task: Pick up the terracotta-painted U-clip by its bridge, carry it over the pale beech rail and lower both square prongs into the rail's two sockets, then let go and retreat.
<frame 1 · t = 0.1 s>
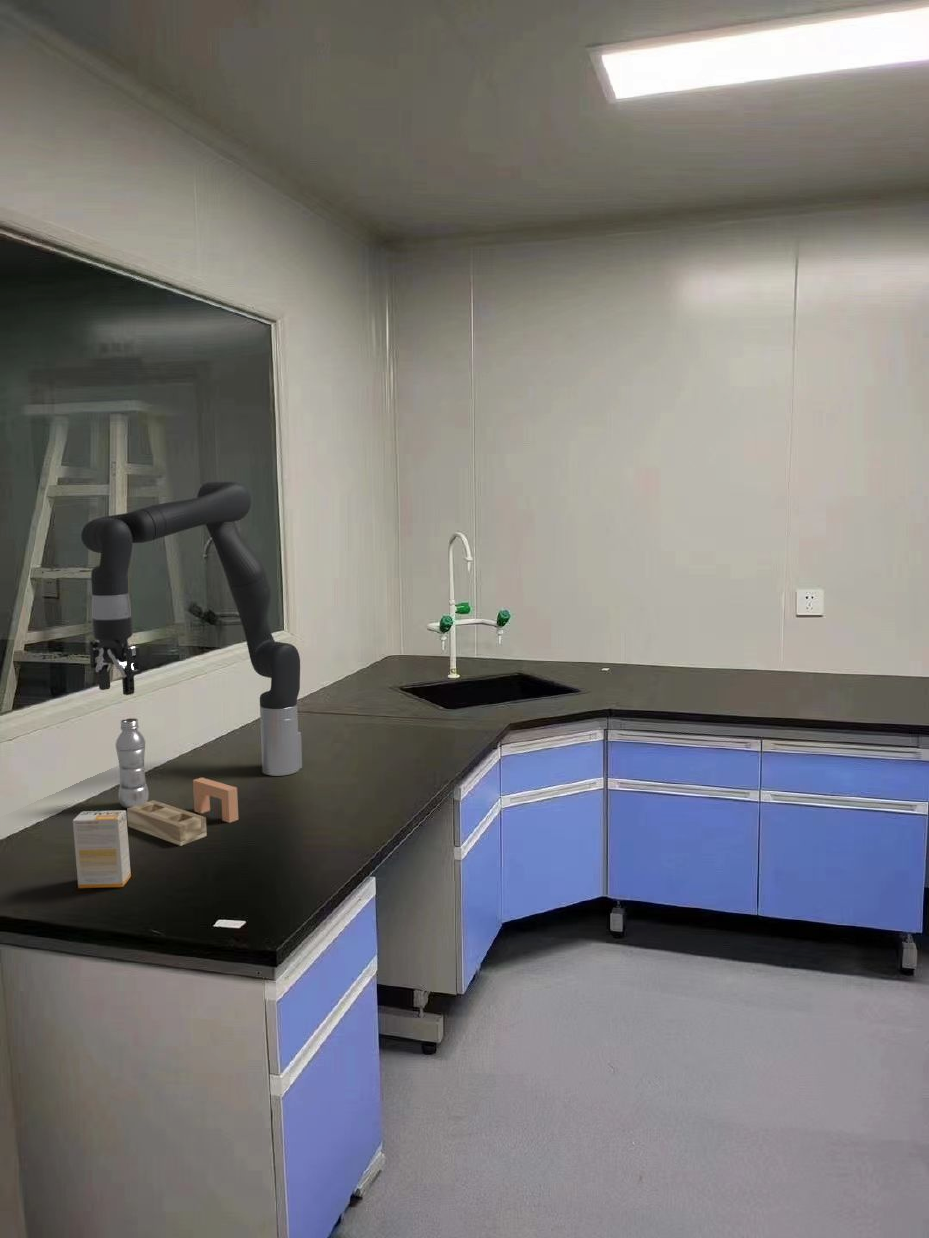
hand: (116, 691, 189), 29 cm above the worktop, fingers open, 8 cm apart
metal bottle: (134, 806, 204), on the worktop
clip: (216, 815, 198), on the worktop
supplement box: (104, 883, 164), on the worktop
rail: (166, 831, 189), on the worktop
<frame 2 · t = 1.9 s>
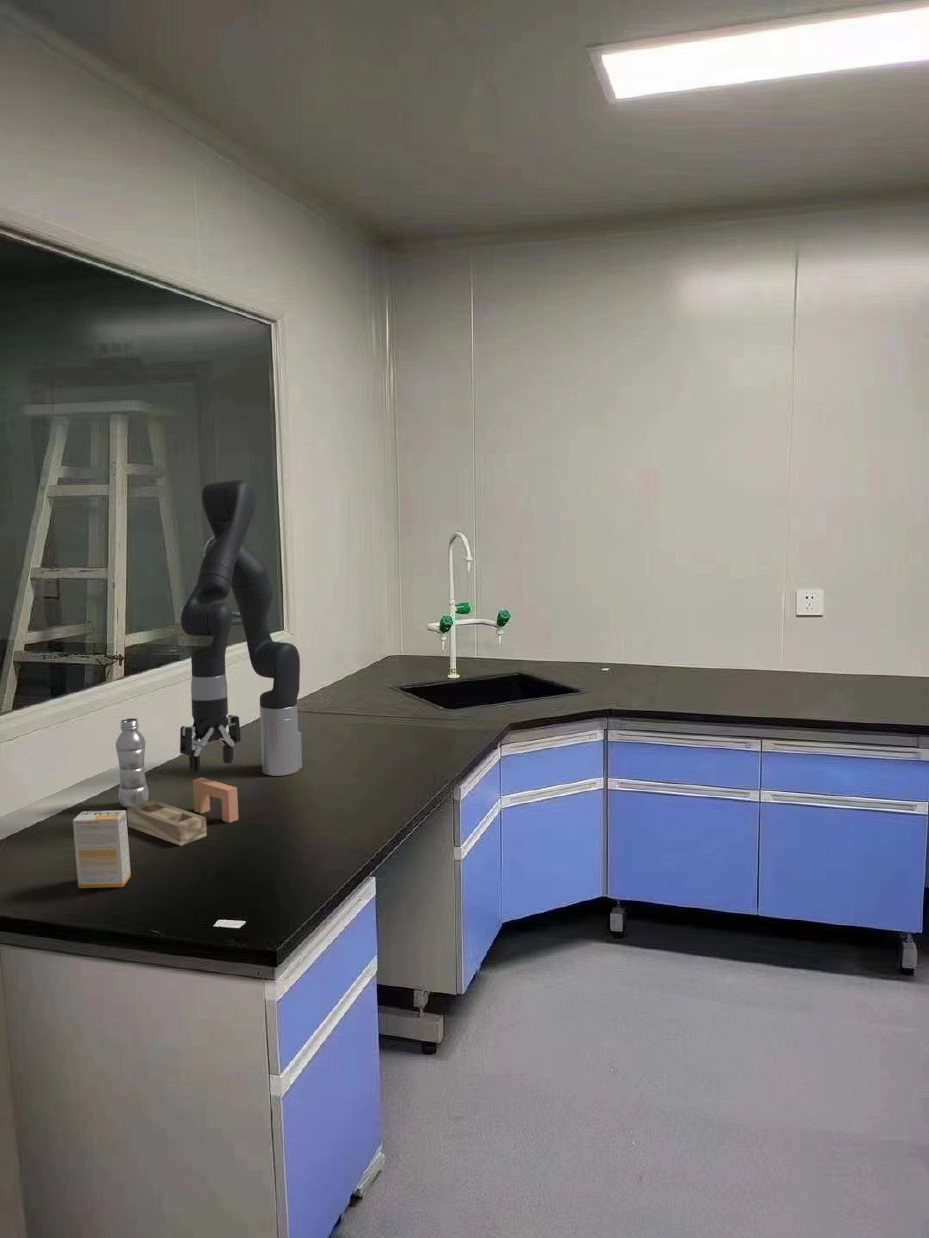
hand: (211, 767, 196), 11 cm above the worktop, fingers open, 8 cm apart
nothing on the worktop moved.
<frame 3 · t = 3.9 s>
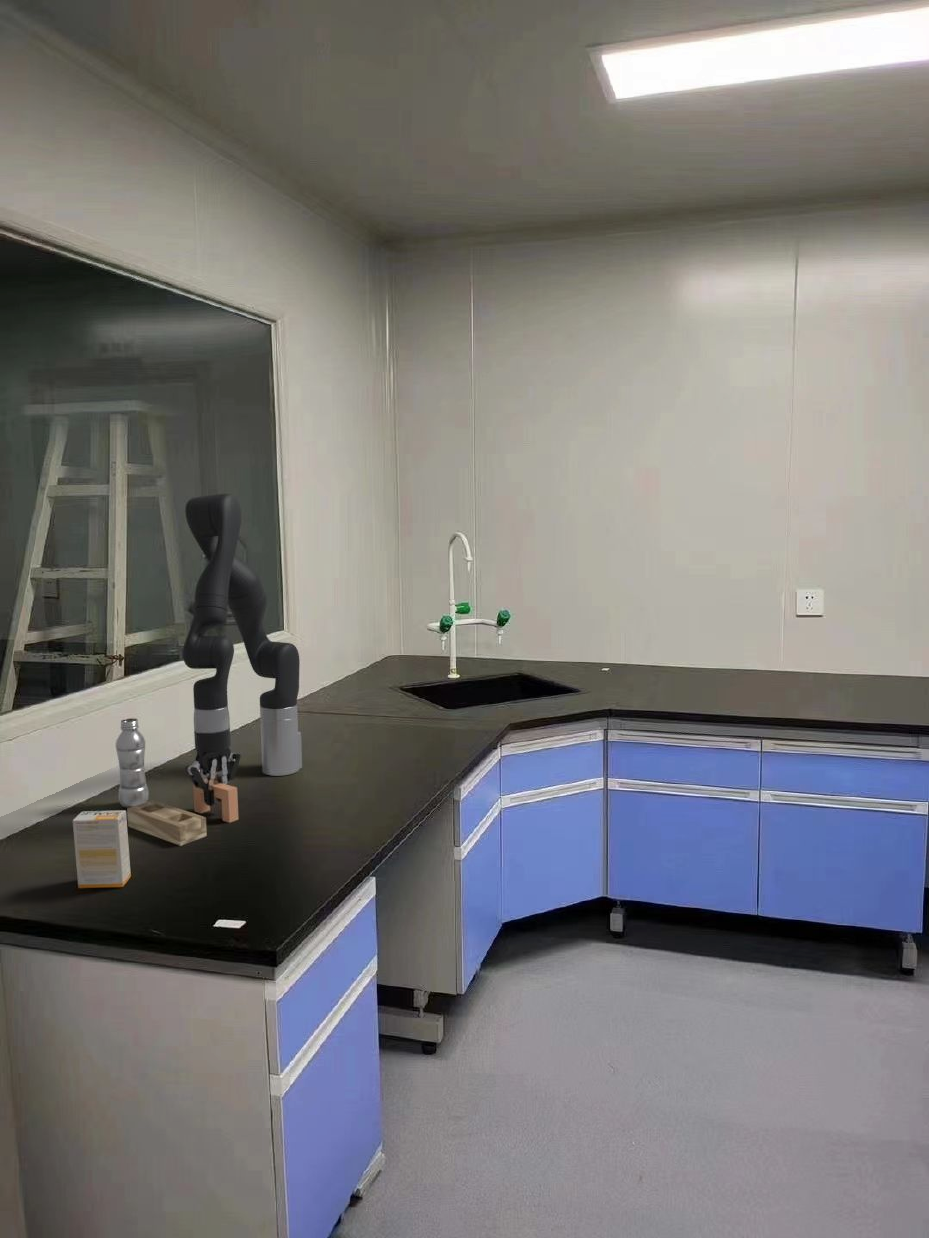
hand: (215, 802, 198), 3 cm above the worktop, fingers closed on clip, 2 cm apart
clip: (216, 815, 198), on the worktop, touching gripper
everything else where it was.
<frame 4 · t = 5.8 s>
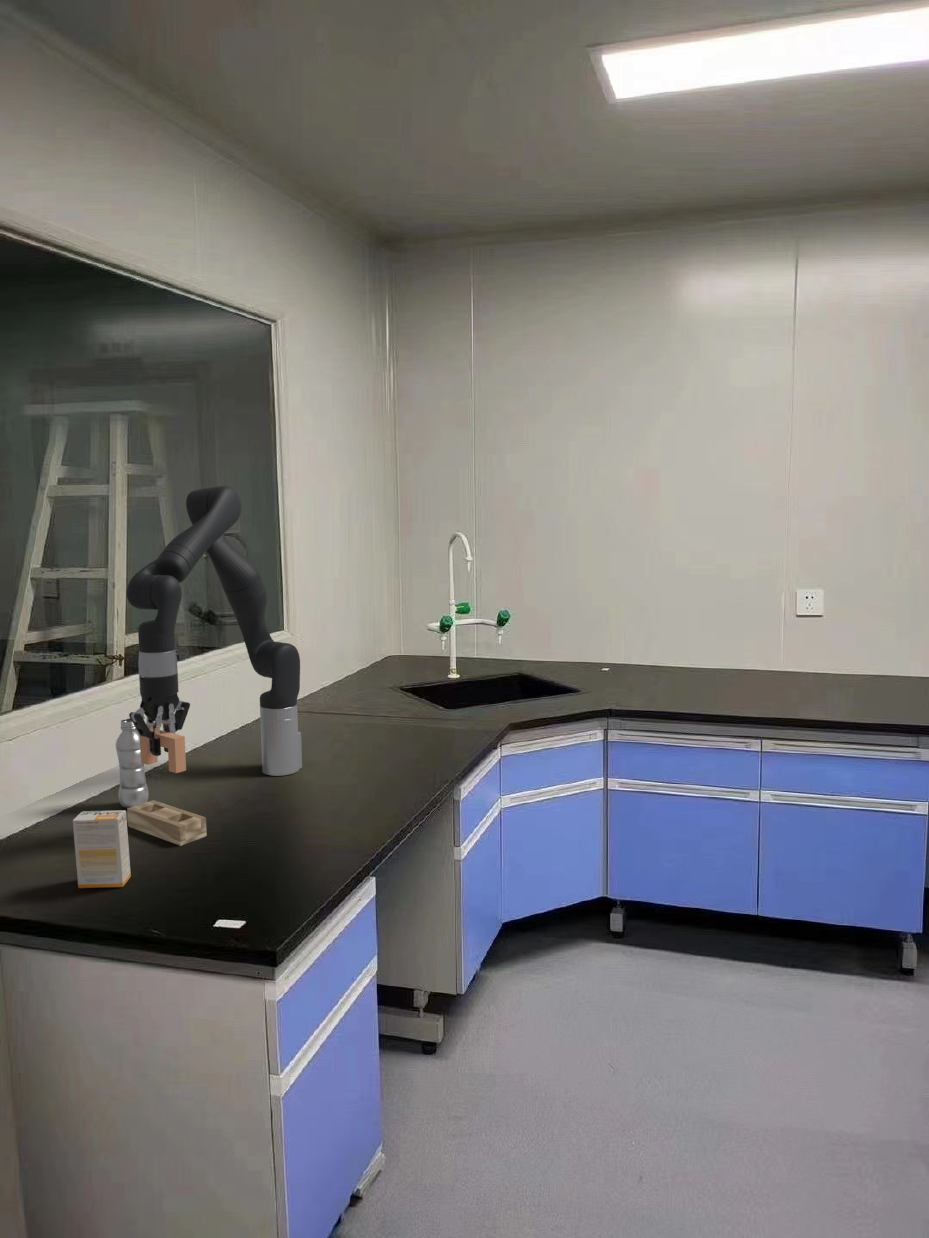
hand: (162, 753, 186), 17 cm above the worktop, fingers closed on clip, 2 cm apart
clip: (163, 766, 187), point 14 cm above the worktop, touching gripper
everything else where it was.
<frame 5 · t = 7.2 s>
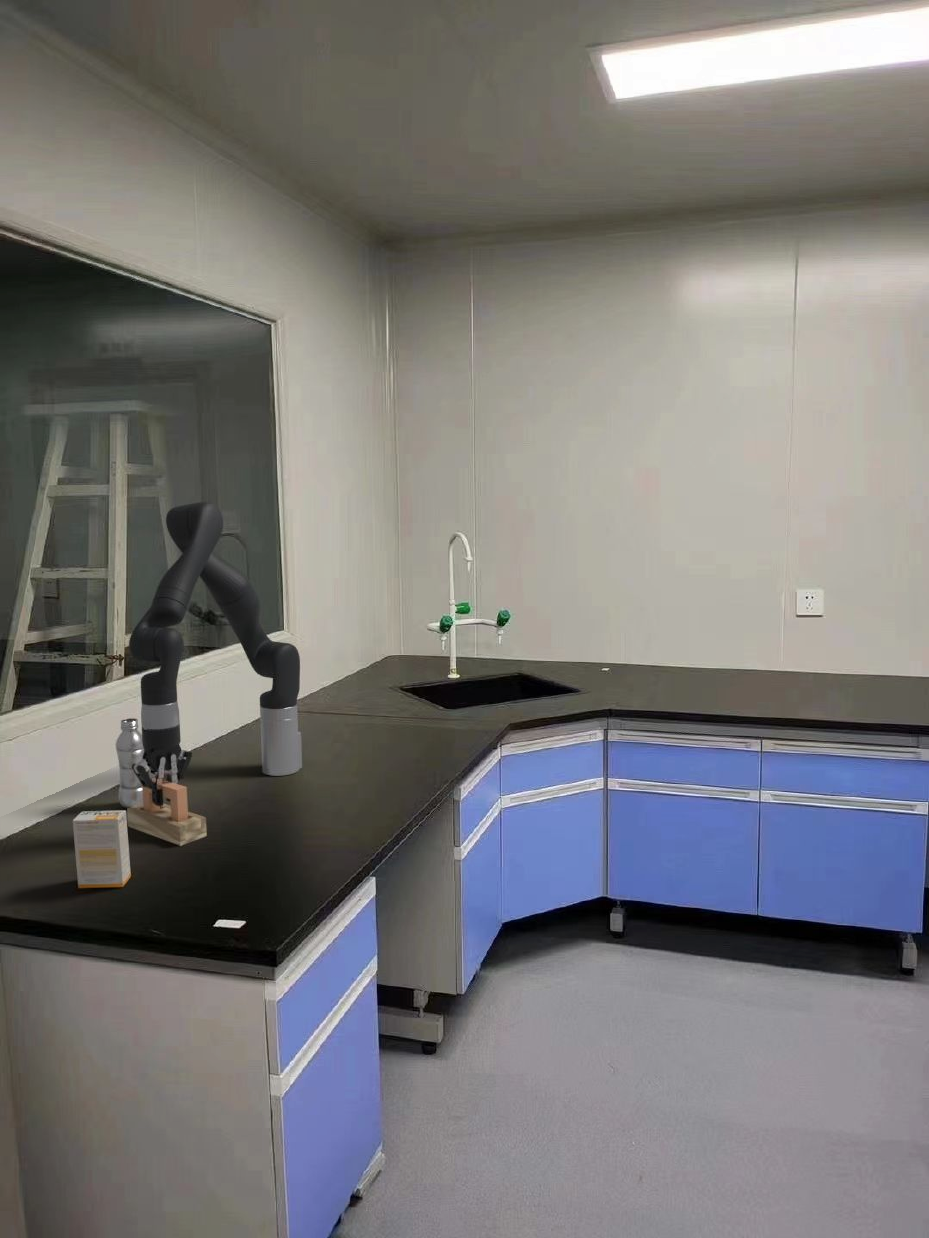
hand: (164, 802, 188), 6 cm above the worktop, fingers closed on clip, 2 cm apart
clip: (165, 815, 188), point 3 cm above the worktop, touching gripper
everything else where it was.
when the fingers open (5 cm above the worktop, at t = 8.1 s): clip drops 1 cm, resting on rail.
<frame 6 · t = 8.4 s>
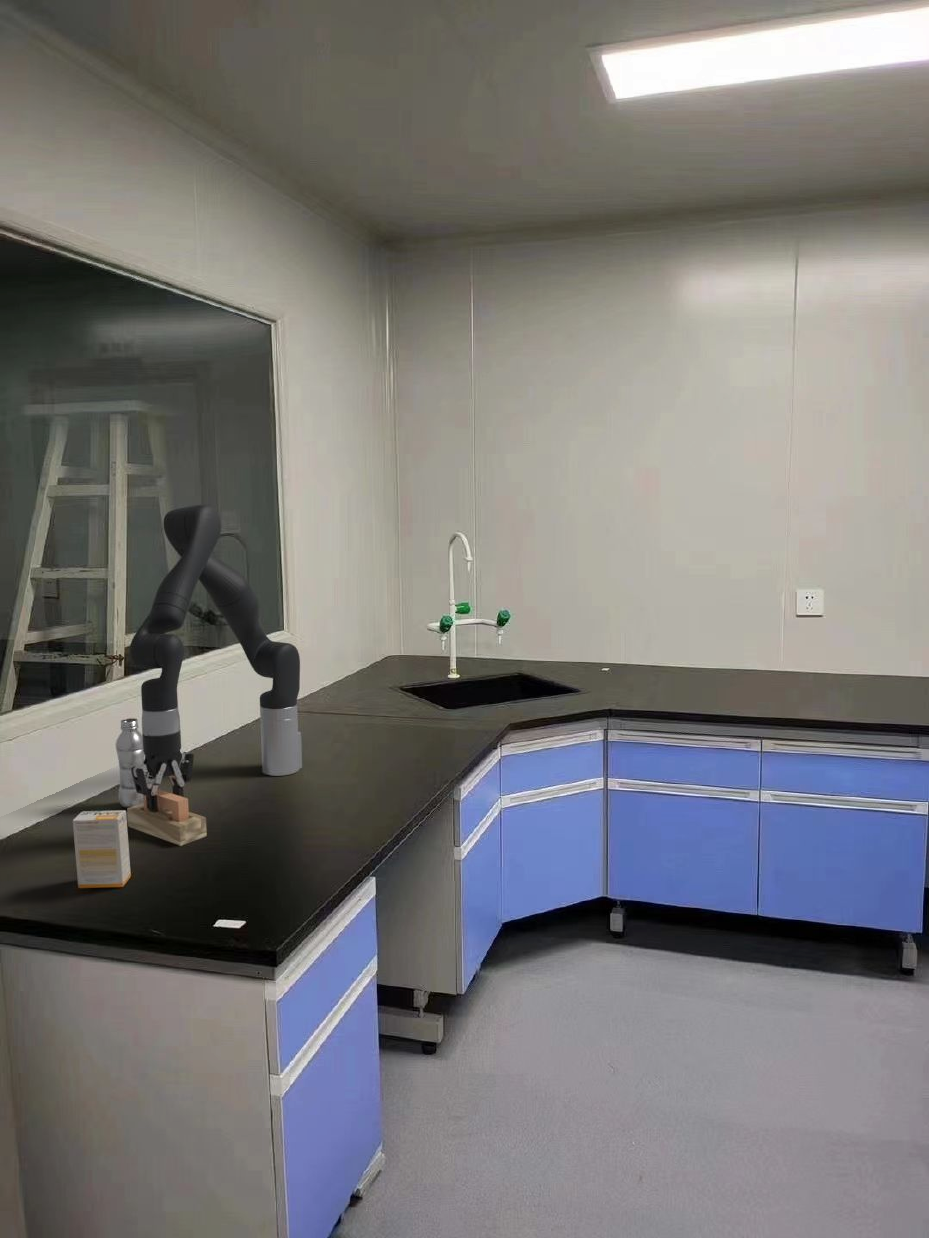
hand: (165, 807, 188), 5 cm above the worktop, fingers open, 5 cm apart
clip: (166, 827, 189), point 1 cm above the worktop, touching rail
everything else where it was.
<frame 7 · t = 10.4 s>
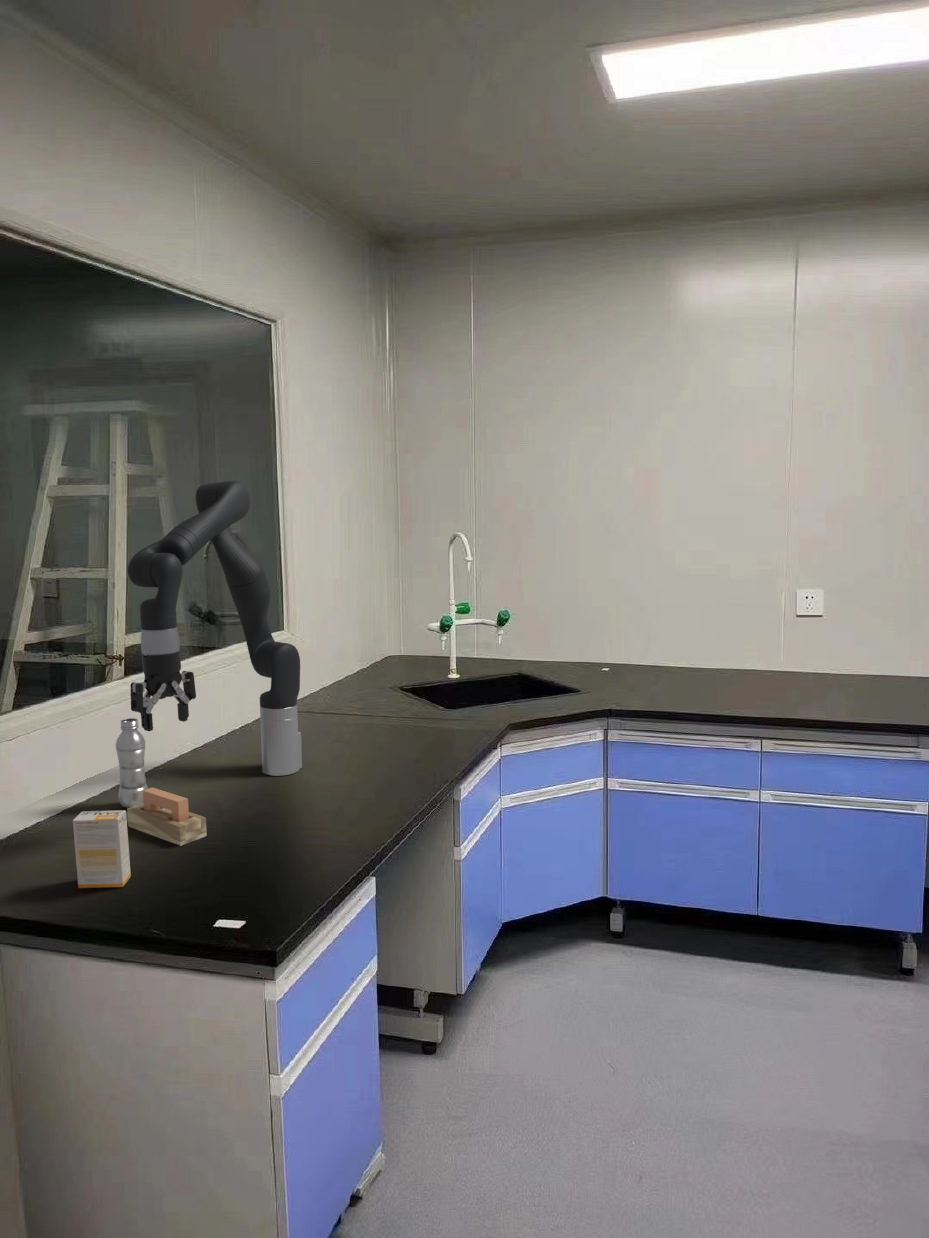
hand: (166, 725, 188), 22 cm above the worktop, fingers open, 8 cm apart
nothing on the worktop moved.
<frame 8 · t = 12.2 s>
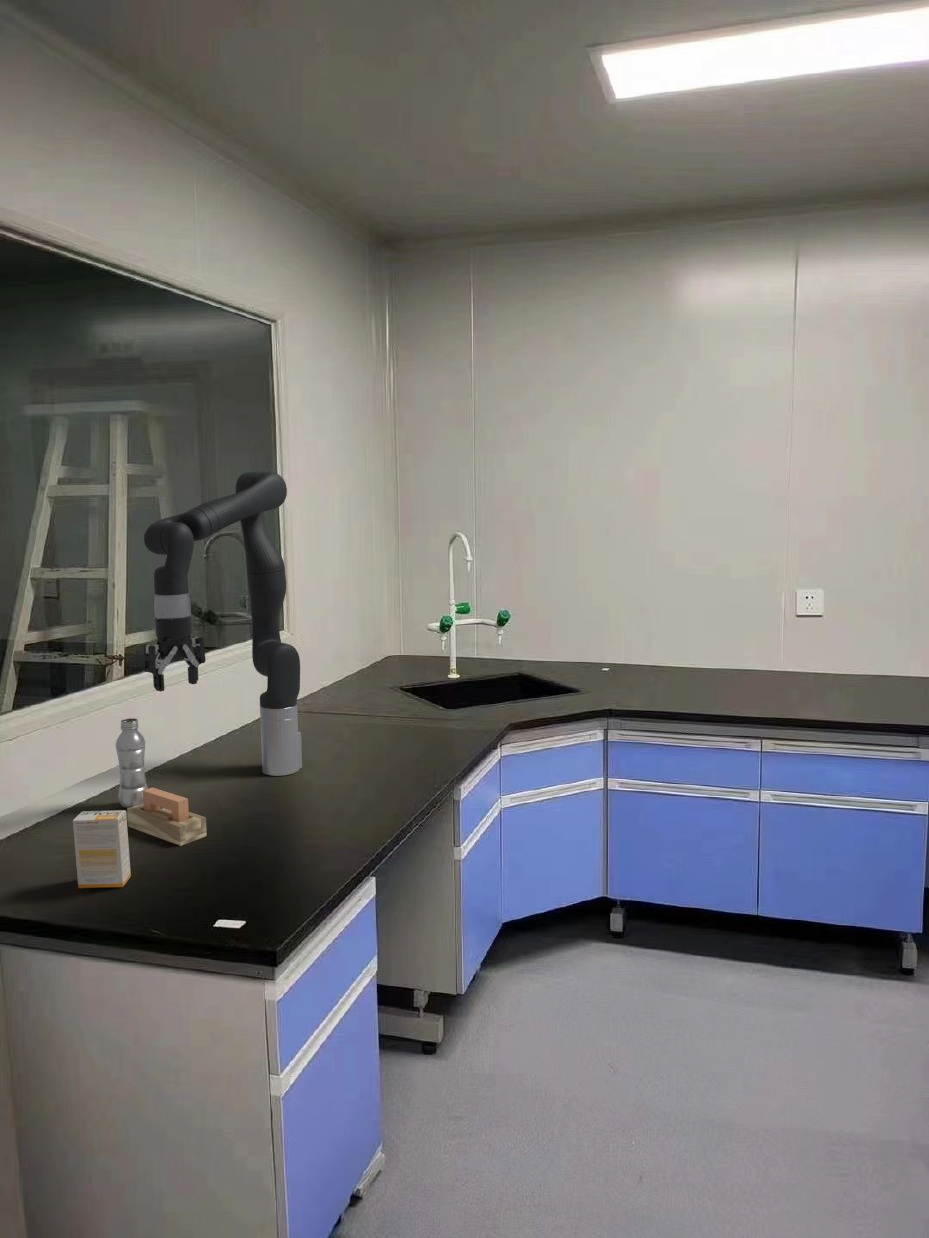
hand: (176, 687, 198), 28 cm above the worktop, fingers open, 8 cm apart
nothing on the worktop moved.
at the end: clip 0.0 cm off-centre on the rail, point 0.8 cm above the rail's base; clip tilted 0°; the gripper is holding nothing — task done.
